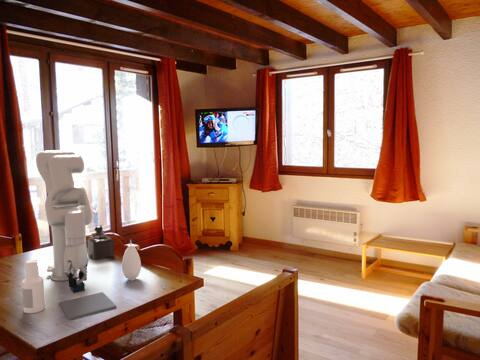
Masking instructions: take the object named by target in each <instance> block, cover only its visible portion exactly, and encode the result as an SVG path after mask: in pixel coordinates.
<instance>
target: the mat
mask: <svg viewBox="0 0 480 360" xmlns="http://www.w3.org/2000/svg"><path fill="white" fill-rule="evenodd" d="M58 304H59V307H61V309H62V311H63V312H64V313H65V315H66V316H67V318H68V320H74V319H79V318H83V317H85V316H87V317H88V316H89V315H90V316H91V315H94V314H97V313H101V312H106V311H109V310H113V309H117V305H116V304H115V303H114V301H112V300H111V299H110V298H109V297H108V296H107V295H106V294H105V293H104V292H103V291H101V292H97V293H92V294H88V295H83V296H80V297H75V298H70V299H67V300H62V301H58Z"/></svg>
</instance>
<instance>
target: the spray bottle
mask: <svg viewBox="0 0 480 360" xmlns="http://www.w3.org/2000/svg"><path fill="white" fill-rule="evenodd" d="M25 263H26V264H25V265H26V266H25V278H24V279H23V280H22V281H21V288H22V292H21V293H22V305H23V308H22V309H23V312H24V313H25V314H37V313H40V312H41V311H43V310H44V309H45V308H46V304H45V287H44V286H45V285H44V277H42V276H40V275H39V265H38V260H37V259H30V260H27V261H25Z"/></svg>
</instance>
